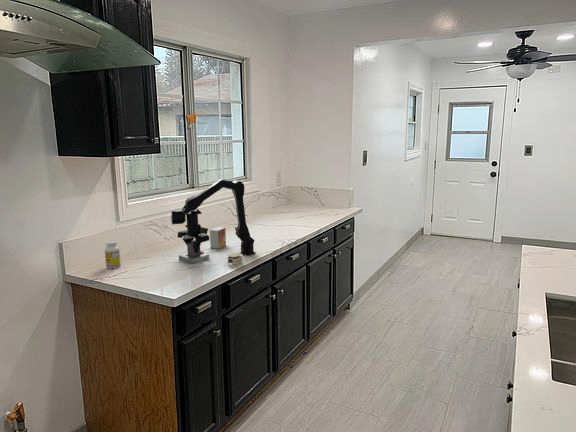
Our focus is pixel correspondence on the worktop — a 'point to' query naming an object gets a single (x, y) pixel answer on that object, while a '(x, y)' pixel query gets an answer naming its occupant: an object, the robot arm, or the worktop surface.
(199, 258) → the socket plate
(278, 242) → the worktop surface
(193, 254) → the plug
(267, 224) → the worktop surface
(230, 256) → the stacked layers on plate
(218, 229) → the small box
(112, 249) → the supplement bottle
